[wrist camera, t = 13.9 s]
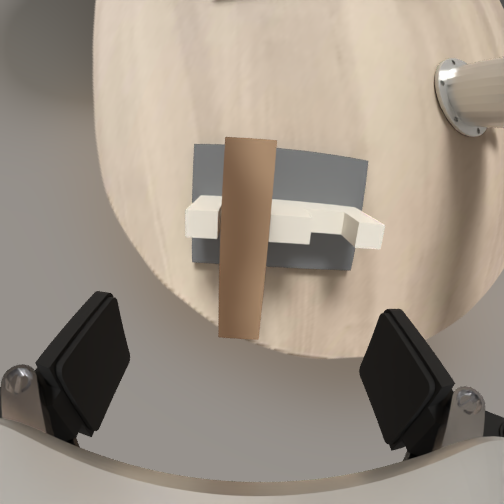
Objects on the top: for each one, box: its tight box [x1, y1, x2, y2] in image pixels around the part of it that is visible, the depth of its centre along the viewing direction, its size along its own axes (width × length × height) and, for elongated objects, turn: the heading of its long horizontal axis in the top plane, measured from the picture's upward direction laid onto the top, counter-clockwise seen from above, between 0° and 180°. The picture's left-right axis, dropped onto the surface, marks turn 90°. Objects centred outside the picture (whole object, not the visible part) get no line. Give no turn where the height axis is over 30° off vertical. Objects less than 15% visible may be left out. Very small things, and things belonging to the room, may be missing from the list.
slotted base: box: [185, 144, 385, 271], centre depth 27 cm, size 20×14×9 cm
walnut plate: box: [219, 137, 277, 339], centre depth 24 cm, size 3×14×14 cm, turn 176°
